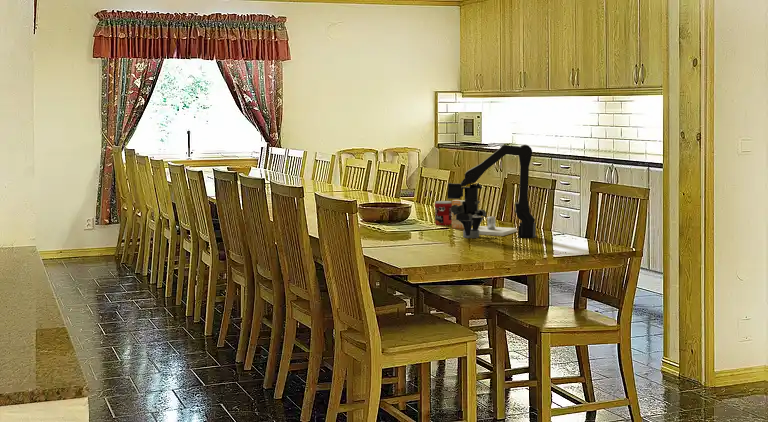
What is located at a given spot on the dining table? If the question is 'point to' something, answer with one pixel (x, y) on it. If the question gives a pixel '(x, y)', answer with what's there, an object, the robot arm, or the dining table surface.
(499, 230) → the base plate
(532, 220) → the robot arm
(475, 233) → the gunmetal ring
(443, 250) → the dining table surface
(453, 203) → the supplement box
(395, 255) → the dining table surface
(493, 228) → the steel pin
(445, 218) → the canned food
